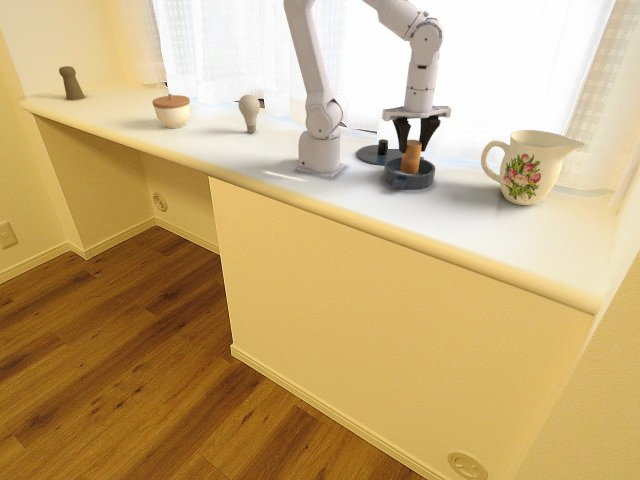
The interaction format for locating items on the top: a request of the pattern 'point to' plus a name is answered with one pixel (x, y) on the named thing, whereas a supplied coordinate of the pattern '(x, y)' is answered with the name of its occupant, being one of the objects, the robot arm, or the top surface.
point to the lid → (378, 153)
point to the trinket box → (172, 110)
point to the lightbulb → (249, 111)
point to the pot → (406, 180)
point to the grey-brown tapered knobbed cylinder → (71, 83)
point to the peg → (411, 157)
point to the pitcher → (529, 164)
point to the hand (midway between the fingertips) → (411, 150)
